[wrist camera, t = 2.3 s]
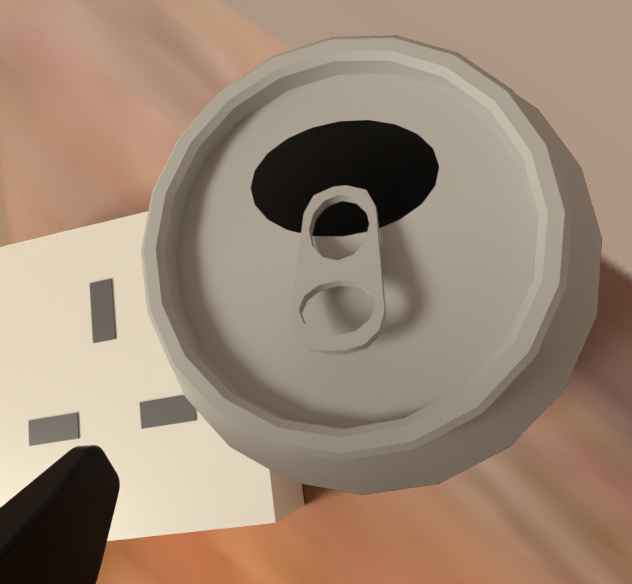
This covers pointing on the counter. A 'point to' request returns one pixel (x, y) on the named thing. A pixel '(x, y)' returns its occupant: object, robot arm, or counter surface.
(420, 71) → the can
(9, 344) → the socket block
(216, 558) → the counter surface
